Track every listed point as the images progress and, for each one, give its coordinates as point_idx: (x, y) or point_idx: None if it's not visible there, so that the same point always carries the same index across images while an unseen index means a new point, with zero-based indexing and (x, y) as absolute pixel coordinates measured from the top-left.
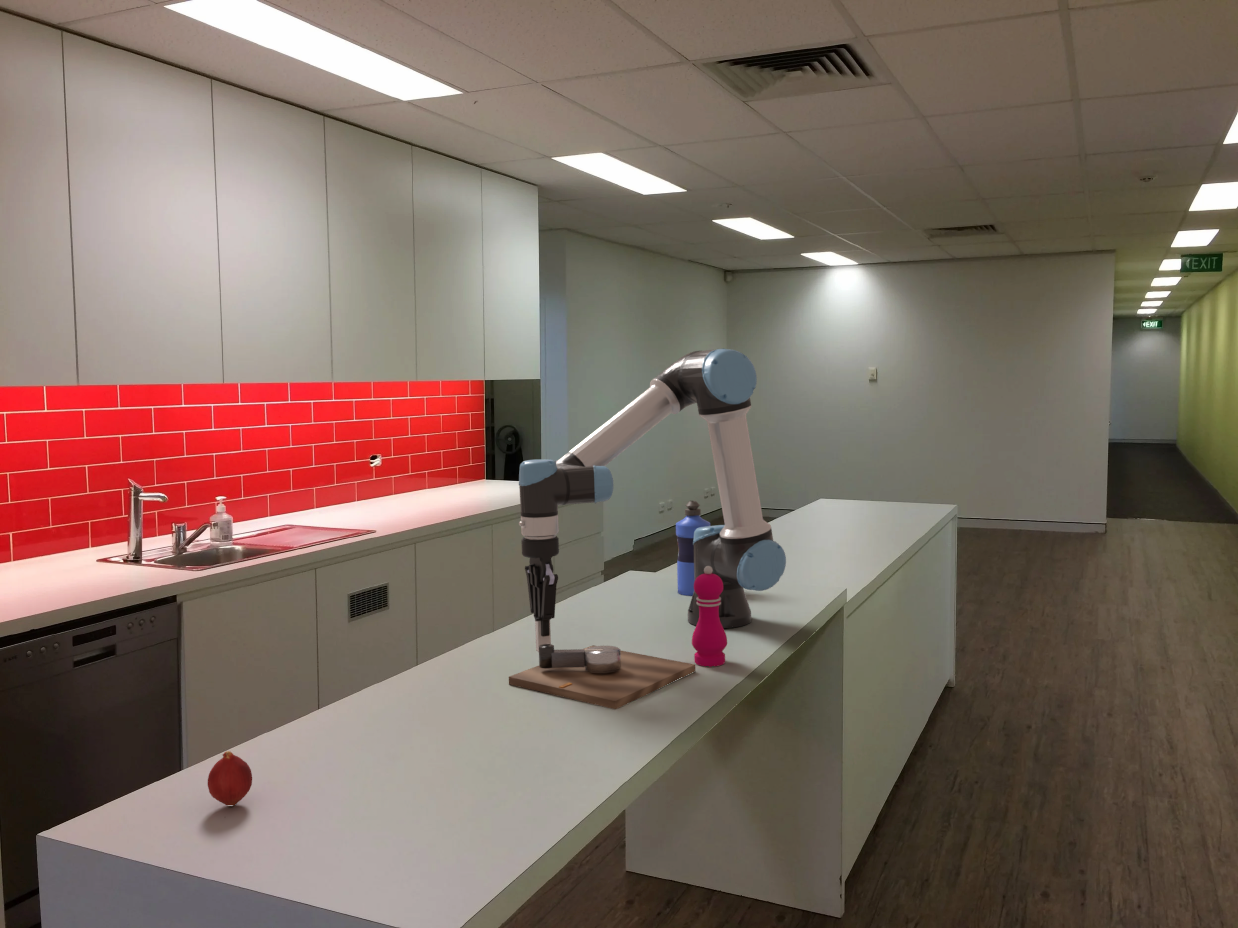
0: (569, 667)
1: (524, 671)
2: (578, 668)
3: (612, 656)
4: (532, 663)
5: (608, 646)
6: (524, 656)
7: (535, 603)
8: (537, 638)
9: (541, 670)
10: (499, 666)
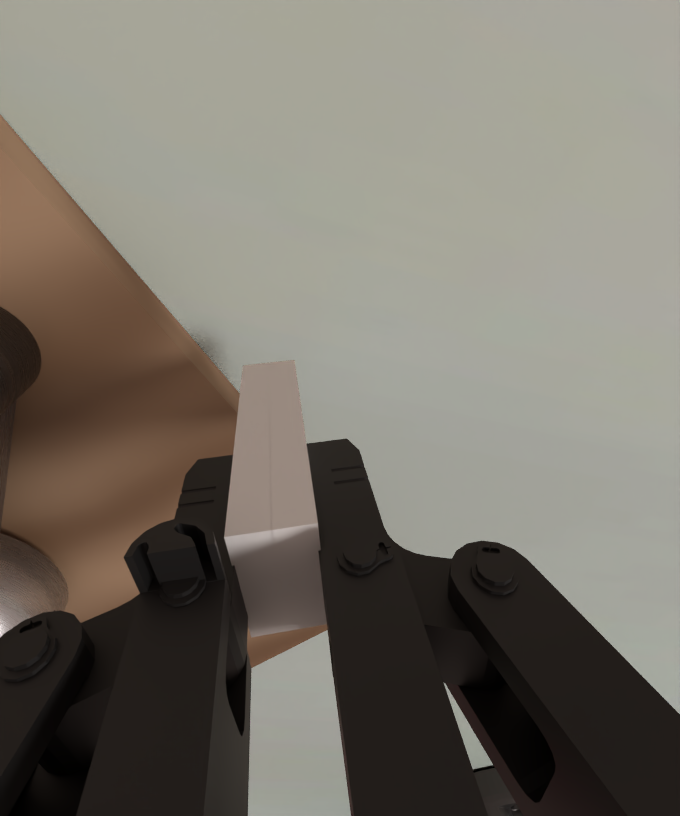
0: (62, 462)
1: (12, 180)
2: (33, 496)
3: None
4: (360, 315)
5: None
6: (506, 307)
7: (349, 779)
8: (255, 411)
9: (23, 306)
10: (403, 87)
